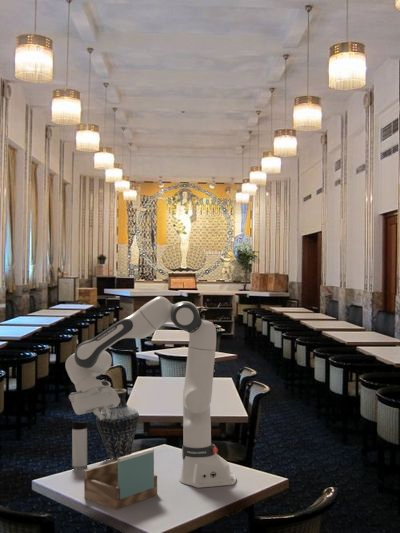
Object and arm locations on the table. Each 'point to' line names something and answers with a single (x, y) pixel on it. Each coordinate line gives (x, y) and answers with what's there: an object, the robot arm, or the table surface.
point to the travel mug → (79, 444)
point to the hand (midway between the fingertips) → (104, 418)
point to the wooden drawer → (110, 487)
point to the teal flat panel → (135, 473)
